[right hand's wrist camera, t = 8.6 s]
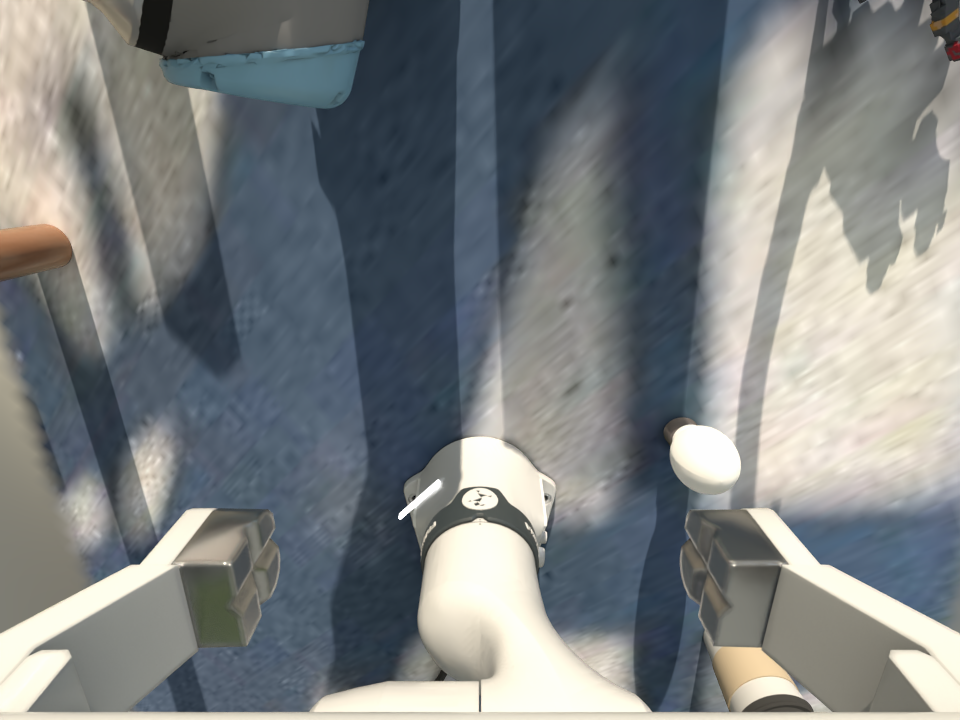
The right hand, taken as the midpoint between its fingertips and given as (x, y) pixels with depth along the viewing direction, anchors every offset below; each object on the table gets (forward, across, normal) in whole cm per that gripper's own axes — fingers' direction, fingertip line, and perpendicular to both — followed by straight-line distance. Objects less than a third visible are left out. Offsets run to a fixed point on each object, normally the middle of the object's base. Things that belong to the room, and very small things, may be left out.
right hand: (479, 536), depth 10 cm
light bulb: (+48, +24, -23) cm, 58 cm away
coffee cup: (+48, +35, -55) cm, 81 cm away
